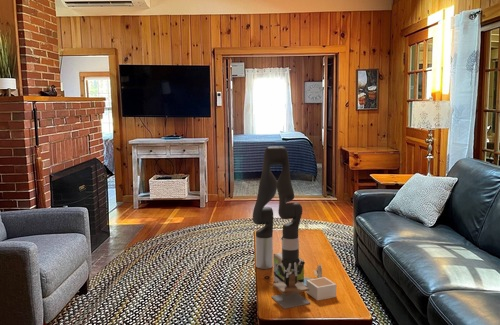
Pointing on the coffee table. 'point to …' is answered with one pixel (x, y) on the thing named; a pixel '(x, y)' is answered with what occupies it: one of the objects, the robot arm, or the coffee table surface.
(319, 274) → the architectural model
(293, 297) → the mat
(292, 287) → the lid
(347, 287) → the coffee table surface
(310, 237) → the coffee table surface
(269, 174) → the robot arm
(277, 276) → the tea box
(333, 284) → the white square box
